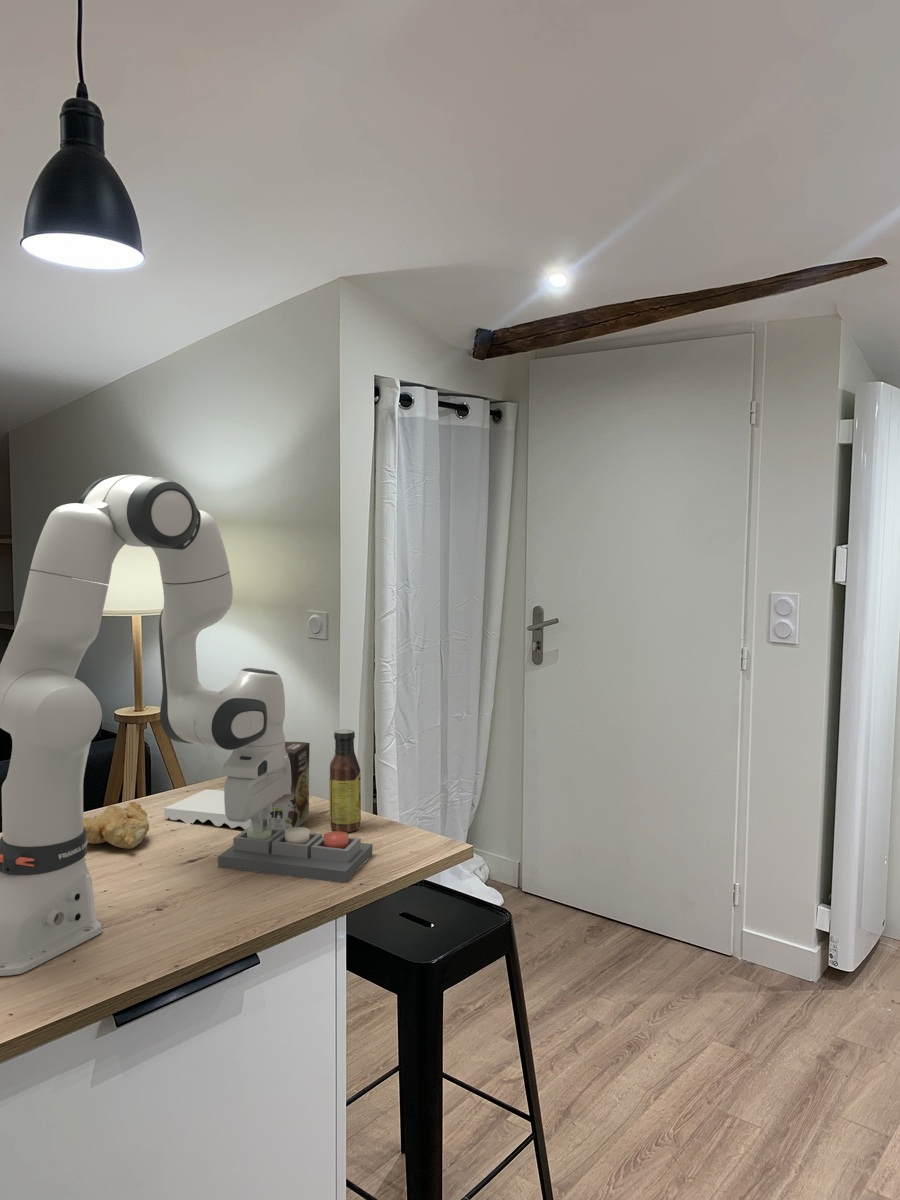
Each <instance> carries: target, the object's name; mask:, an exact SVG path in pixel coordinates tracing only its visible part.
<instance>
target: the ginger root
mask: <svg viewBox="0 0 900 1200" xmlns="http://www.w3.org/2000/svg"><path fill="white" fill-rule="evenodd" d="M83 827H84V828H85V829H86V835H87V840H88V844H91V845H93V844H94V845H95V844H103V843H106V842H107V843H108V844H110V845H112V846H114V847H116V848H121V849H126V850H127V849H131V850H133V849H134V848H136V847H137V846H138V845H139V844H141V842H142V841H143V839H144V838H145V836H146V835H147V833H148V832H149V831H150V824H149V821H148V814H147V811H146V810H144V809H142V805H141V803H140V802H139V803H136V802H135V801H129V803H128V805H127V806H126V811H125V809H124V808H122V806H119V805H108V806H107V807H106V808H105V810H104V812H103V813H100V814H98V815H95V816H94V817H85V818H84V817H83Z"/></svg>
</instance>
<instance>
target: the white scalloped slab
mask: <svg viewBox="0 0 900 1200" xmlns="http://www.w3.org/2000/svg"><path fill="white" fill-rule="evenodd" d="M163 809H164V810H163V811H164V812H163V814H164V818H165V819H166V818H169V820H171V821H178V820H180V821H181V822H182V821H183V822H184V823H185V824H187V823H192V824H191V825H193V824H194V823H195V822H196V821H197V820H198V821H200V822H201V823H205V822H207V821H208V820H209V821H211V823H212V824H213V826H215V827H221V826H222V825H223V824H225V825H227V826H229V828H230V829H233V828H234V829H236V828H237V827H241V828H242V829H243V830H246V829H247V828H248V827H250V826H253V823H252V821H251V819H249V820H247V821H246V822H235V821H229V820H228V819H227V817H226V815H225V804H224V790H220V789H219V790H218V789H207V788H206V789H205V788H204V789H203V790H201V791H199V792H196V793H194V794H193V795H190V796H188V797H186V798H184V799H181V800H179V801H177V802H175V803H173V804H170V805H169V806H165V807H164V808H163Z"/></svg>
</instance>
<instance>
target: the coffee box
mask: <svg viewBox="0 0 900 1200" xmlns="http://www.w3.org/2000/svg"><path fill="white" fill-rule="evenodd" d="M285 750H286V756H288V757H289V760H290V766H291V788H290V791H289V792H288V793H286V794H285V795H284V796H282V797H281V798H279V799H278V800H276V801H275V802H273V803H272V809H271V812H270V816H269V819H268V828H273V829H282V830H284V832H285V830H287V829H289V828H293V827H301V826H302V825H303V824H304V823H305V822H307V820H309V818H310V742H303V741H285Z"/></svg>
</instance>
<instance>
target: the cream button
mask: <svg viewBox="0 0 900 1200" xmlns="http://www.w3.org/2000/svg"><path fill="white" fill-rule="evenodd" d="M284 833H285V842H288V843H297V844H306V843H307V842H308V841H310V833H311V831H310V829H309V828H307V827H304V826H303V827H302V826H299V827H293V828H289V829H287V830H285V831H284Z"/></svg>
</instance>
